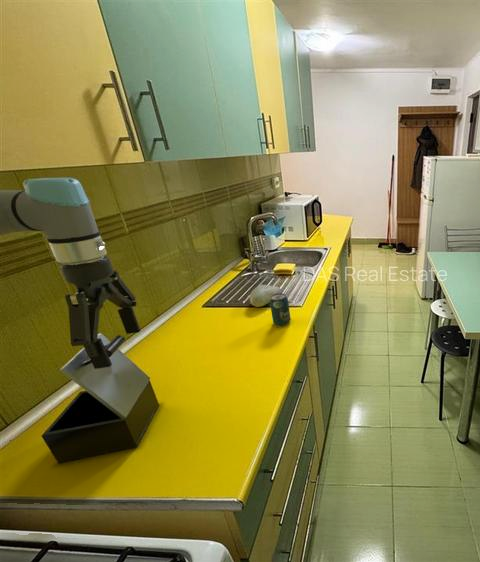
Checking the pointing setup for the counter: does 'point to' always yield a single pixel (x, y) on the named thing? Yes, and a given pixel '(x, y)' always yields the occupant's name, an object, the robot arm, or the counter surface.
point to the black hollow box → (98, 427)
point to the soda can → (280, 309)
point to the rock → (263, 295)
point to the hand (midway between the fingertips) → (120, 348)
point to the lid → (109, 377)
